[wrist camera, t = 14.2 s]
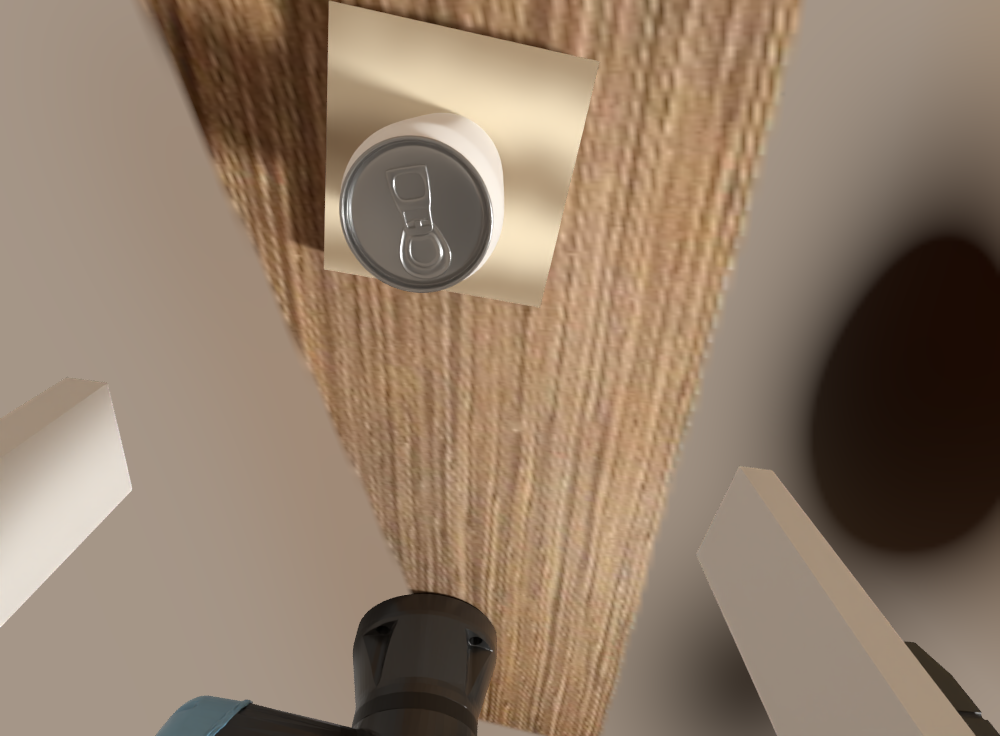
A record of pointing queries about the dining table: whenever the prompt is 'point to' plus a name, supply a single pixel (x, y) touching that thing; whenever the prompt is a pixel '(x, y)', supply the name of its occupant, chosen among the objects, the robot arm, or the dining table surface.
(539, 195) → the riser
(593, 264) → the dining table surface
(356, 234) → the can
